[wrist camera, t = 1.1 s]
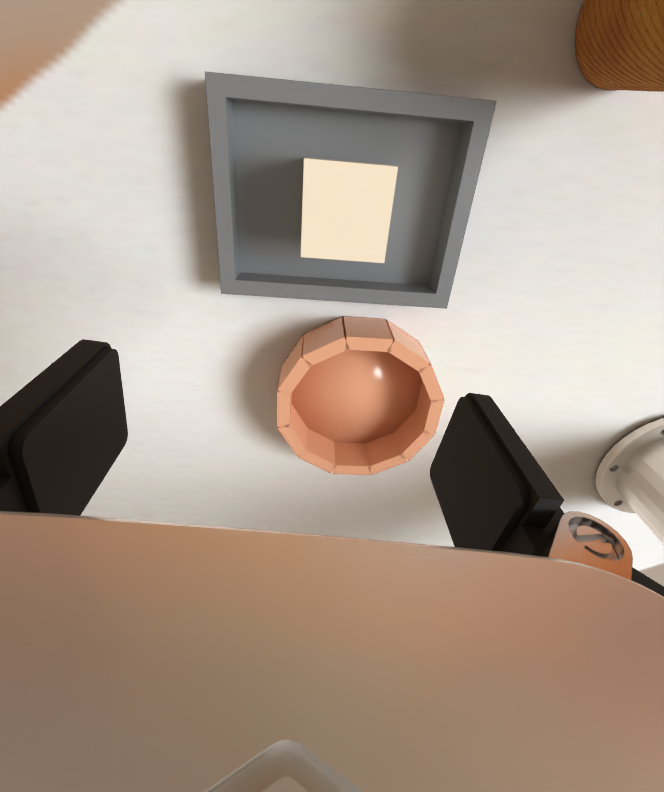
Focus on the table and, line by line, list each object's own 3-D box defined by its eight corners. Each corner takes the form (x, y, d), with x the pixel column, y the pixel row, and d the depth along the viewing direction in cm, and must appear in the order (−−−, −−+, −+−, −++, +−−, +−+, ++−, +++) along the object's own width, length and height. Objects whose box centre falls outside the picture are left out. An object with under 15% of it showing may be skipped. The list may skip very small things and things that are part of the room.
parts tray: (480, 105, 24) (496, 101, 22) (437, 297, 30) (446, 308, 28) (215, 79, 23) (204, 71, 21) (228, 283, 29) (221, 293, 27)
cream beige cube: (384, 164, 25) (398, 166, 21) (374, 246, 28) (384, 263, 23) (306, 157, 25) (304, 158, 20) (303, 240, 27) (300, 257, 23)
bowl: (444, 322, 31) (459, 343, 28) (414, 448, 38) (423, 477, 35) (281, 312, 31) (277, 332, 27) (280, 442, 37) (276, 471, 34)
